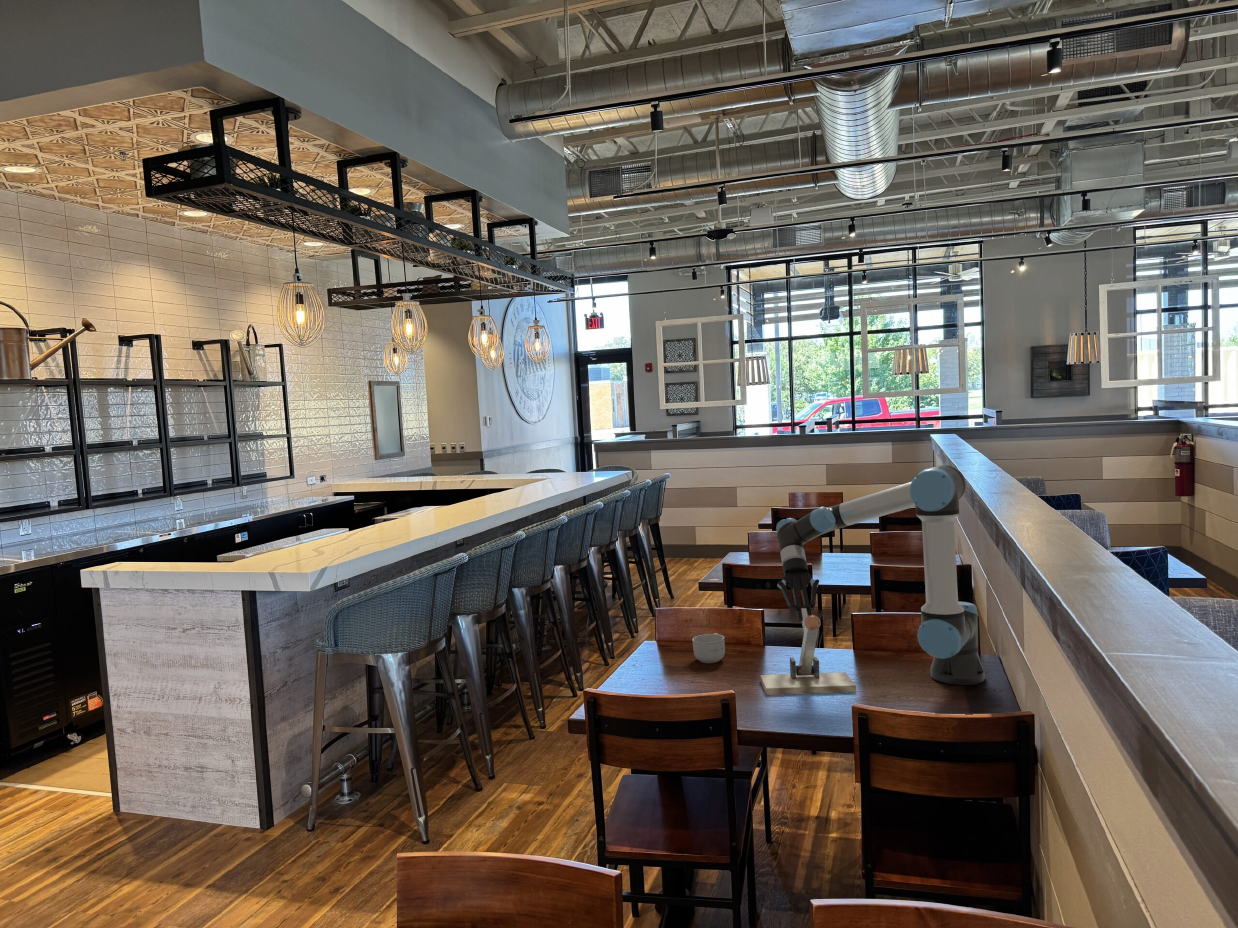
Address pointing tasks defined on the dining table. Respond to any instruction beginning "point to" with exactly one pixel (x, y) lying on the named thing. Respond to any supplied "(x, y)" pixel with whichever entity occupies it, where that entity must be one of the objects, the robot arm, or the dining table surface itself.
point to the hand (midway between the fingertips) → (806, 629)
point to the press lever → (808, 646)
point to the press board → (807, 682)
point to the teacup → (709, 647)
